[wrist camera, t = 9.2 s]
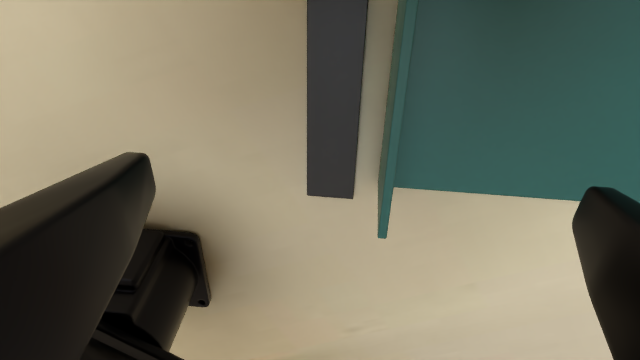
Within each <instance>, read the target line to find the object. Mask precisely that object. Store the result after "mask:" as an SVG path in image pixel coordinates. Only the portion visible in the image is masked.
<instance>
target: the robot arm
mask: <svg viewBox="0 0 640 360" xmlns="http://www.w3.org/2000/svg"><path fill="white" fill-rule="evenodd" d="M155 192H156V186H155V181H154V176H153V172H152V168H151V163H150V160H149V157H148V156H147V155H146V154H144V153H134V152H126V153H124V154H121V155H119V156H117V157H115V158H112V159H110V160H108V161H106V162H103V163H101V164H99V165H97V166H94V167H92V168H90V169H88V170H85V171H83V172H81V173H79V174H76V175H74V176H72V177H70V178H67V179H65V180H63V181H61V182H58V183H56V184H54V185H52V186H49V187H47V188H45V189H43V190H40V191H38V192H36V193H34V194H31V195H29V196H27V197H25V198H22V199H20V200H18V201H16V202H13V203H11V204H9V205H7V206H4V207H2V208H0V360H184V359H182V358H180V357H178V356H176V355H174V354H172V353H170V352H169V350H170V348H171V345H172V343H173V341H174V338H175V336H176V334H177V331H178V329H179V327H180V324H181V322H182V319H183V317H184V315H185V312H186V310H187V308H188V306H196V307H207V306H208V305H209V303H210V301H211V296H210V291H209V286H208V281H207V275H206V270H205V265H204V260H203V254H202V249H201V244H200V239H199V237H198V236H197V235H195V234H193V233H186V232H175V231H164V230H152V229H143V227H144V224H145V221H146V219H147V216H148V213H149V211H150V208H151V205H152V202H153V200H154V197H155ZM572 229H573V234H574V238H575V242H576V246H577V250H578V254H579V258H580V262H581V266H582V270H583V274H584V278H585V282H586V285H587V289H588V292H589V296H590V298H591V301H592V304H593V307H594V309H595V312H596V315H597V317H598V320H599V322H600V325H601V328H602V330H603V333H604V336H605V338H606V341H607V343H608V346H609V349H610V351H611V354H612V356H613V359H614V360H640V203H639V202H637V201H635V200H634V199H632V198H630V197H628V196H626V195H625V194H623V193H621V192H619V191H618V190H616V189H614V188H610V187H598V186H592V187H589V188H588V189H587V190H586V191H585V193H584V195H583V197H582V200H581V202H580V204H579V206H578V209H577V211H576V213H575V215H574V218H573V222H572ZM189 240H190V241H189ZM191 241H192V242H191Z"/></svg>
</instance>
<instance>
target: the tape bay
mask: <svg viewBox="0 0 640 360" xmlns="http://www.w3.org/2000/svg"><path fill="white" fill-rule="evenodd" d="M367 6H368V0H307V195H308V196H321V197H334V198H346V199H353V192H354V179H355V165H356V152H357V139H358V125H359V112H360V99H361V85H362V72H363V59H364V46H365V32H366V19H367Z"/></svg>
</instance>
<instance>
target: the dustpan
mask: <svg viewBox="0 0 640 360" xmlns="http://www.w3.org/2000/svg"><path fill="white" fill-rule="evenodd" d="M592 186H598V187H610V188H614V189H616V190H618V191H619V192H621V193H623V194H625V195H626V196H628V197H630V198H632V199H634V200H635V201H637V202H639V203H640V0H398V8H397V17H396V26H395V35H394V44H393V53H392V62H391V71H390V80H389V89H388V98H387V107H386V116H385V125H384V134H383V143H382V152H381V161H380V170H379V179H378V238H384V239H386V238H387V231H388V223H389V216H390V209H391V201H392V194H393V187H399V188H412V189H425V190H438V191H452V192H465V193H478V194H492V195H505V196H518V197H532V198H545V199H558V200H572V201H581V200H582V197H583V195H584V193H585V191H586V190H587V189H588V188H589V187H592Z"/></svg>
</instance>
